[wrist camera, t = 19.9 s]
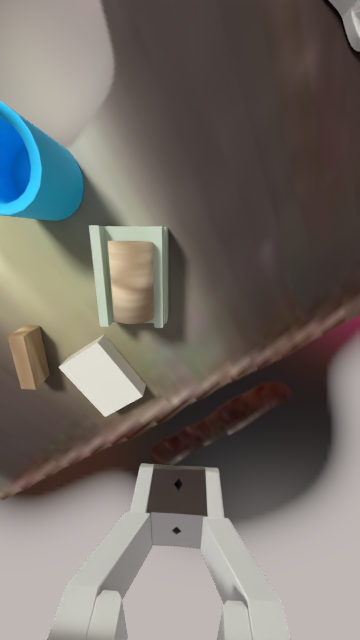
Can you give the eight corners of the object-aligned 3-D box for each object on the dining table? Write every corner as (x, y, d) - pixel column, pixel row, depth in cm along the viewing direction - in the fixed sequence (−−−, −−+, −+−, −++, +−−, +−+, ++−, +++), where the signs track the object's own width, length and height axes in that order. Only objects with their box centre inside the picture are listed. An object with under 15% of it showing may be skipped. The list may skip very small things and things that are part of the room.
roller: (150, 241, 26) (155, 242, 21) (151, 309, 28) (156, 322, 24) (108, 240, 25) (105, 241, 21) (114, 311, 27) (113, 325, 23)
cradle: (168, 228, 27) (164, 226, 23) (168, 315, 31) (165, 328, 27) (101, 226, 27) (85, 225, 23) (109, 314, 31) (97, 326, 27)
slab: (146, 383, 35) (142, 396, 33) (111, 403, 37) (105, 416, 34) (105, 333, 33) (97, 342, 30) (69, 356, 34) (58, 367, 31)
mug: (98, 182, 26) (61, 159, 18) (56, 236, 28) (8, 236, 20) (5, 85, 23) (-84, 11, 16) (-33, 153, 25) (-128, 117, 18)
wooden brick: (39, 326, 32) (23, 336, 29) (49, 374, 35) (35, 389, 32) (25, 325, 32) (7, 335, 29) (36, 374, 35) (21, 388, 32)
